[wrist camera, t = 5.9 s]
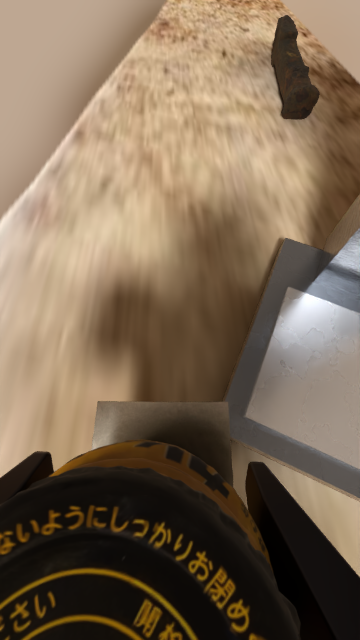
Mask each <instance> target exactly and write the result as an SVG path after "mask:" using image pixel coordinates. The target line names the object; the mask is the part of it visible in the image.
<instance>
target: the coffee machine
mask: <svg viewBox="0 0 360 640" xmlns="http://www.w3.org/2000/svg"><path fill="white" fill-rule="evenodd" d="M222 402H228V409H229V426H230V440H232V441H234V442H236V443H238V444H241V445H243V446H245V447H247V448H249V449H251V450H253V451H255V452H257V453H259V454H261V455H264V456H266V457H268V458H270V459H272V460H274V461H276V462H278V463H280V464H282V465H284V466H286V467H289V468H291V469H293V470H295V471H297V472H299V473H301V474H303V475H305V476H307V477H309V478H312V479H314V480H316V481H318V482H320V483H322V484H324V485H326V486H328V487H330V488H332V489H335V490H337V491H339V492H341V493H343V494H345V495H347V496H349V497H351V498H353V499H355V500H358V501H360V194H359V196H358V197H357V198H356V200H355V201H354V202H353V204H352V205H351V206H350V208H349V209H348V211H347V212H346V213H345V215H344V216H343V217H342V219H341V220H340V221H339V223H338V224H337V225H336V227H335V228H334V230H333V231H332V232H331V234H330V235H329V236H328V238H327V240H326V243H325V247H324V250H320V249H317V248H314V247H311V246H308V245H305V244H303V243H300V242H297V241H294V240H291V239H288V238H285V240H284V242H283V243H282V245H281V247H280V249H279V251H278V253H277V256H276V259H275V261H274V264H273V267H272V269H271V272H270V275H269V277H268V280H267V283H266V285H265V288H264V291H263V293H262V296H261V299H260V301H259V304H258V307H257V309H256V312H255V315H254V317H253V320H252V323H251V325H250V328H249V331H248V333H247V336H246V339H245V341H244V344H243V347H242V349H241V352H240V355H239V357H238V360H237V363H236V365H235V368H234V371H233V373H232V376H231V379H230V381H229V384H228V387H227V389H226V392H225V395H224V397H223V400H222Z"/></svg>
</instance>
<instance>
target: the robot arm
mask: <svg viewBox="0 0 360 640" xmlns="http://www.w3.org/2000/svg"><path fill="white" fill-rule="evenodd" d="M52 473H54V471H53V464H52V458H51V454H50V453H49V452H43V451H37V452H34V453H33V454H31V455H30V456H29V457H27V458H26V459H25V460H23V461H22V462H21V463H19V464H18V465H17V466H15V467H14V468H13V469H11V470H10V471H9V472H7V473H6V474H5V475H4V476H2V477H1V478H0V504H2V503H4V502H6V501H7V500H9V499H11V498H12V497H14V496H15V495H16V494H17V493H19V492H21V491H23V490H27V489H28V488H29V487H30V486H31V484H32V483H34V482H37V481H39V480H42V479H44V478H47V477H48V476H49V475H50V474H52ZM245 487H246V496H247V503H248V511H249V513H250V515H251V516H252V518H253V520H254V522H255V524H256V526H257V528H258V530H259V532H260V534H261V536H262V539H263V542H264V544H265V546H266V548H267V551H268V553H269V558H270V563H271V566H272V568H273V573H274V577H275V579H276V583H277V587H278V591H279V592H280V593H281V594H283V595H284V596H285V597H286V598H287V599H288V600H289V601H290V602H291V603H292V604H293V605H294V606H295V608H296V611H297V614H298V617H299V620H300V623H301V625H300V631H299V633H300V638H301V640H360V577H359V576H358V575H357V574H356V572H355V571H354V570H353V569H352V568H351V566H350V565H349V564H348V563H347V562H346V560H345V559H344V558H343V557H342V556H341V554H340V553H339V552H338V551H337V550H336V548H335V547H334V546H333V545H332V544H331V542H330V541H329V540H328V539H327V538H326V537H325V535H324V534H323V533H322V532H321V531H320V529H319V528H318V527H317V526H316V525H315V523H314V522H313V521H312V520H311V519H310V517H309V516H308V515H307V514H306V513H305V511H304V510H303V509H302V508H301V507H300V505H299V504H298V503H297V502H296V501H295V500H294V498H293V497H292V496H291V495H290V494H289V492H288V491H287V490H286V489H285V488H284V486H283V485H282V484H281V483H280V482H279V480H278V479H277V478H276V477H275V476H274V474H273V473H272V472H271V471H270V470H269V468H268V467H267V466H266V465H265V464H264V463H263V462H250V463H249V464H248V470H247V476H246V483H245Z"/></svg>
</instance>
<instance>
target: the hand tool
mask: <svg viewBox="0 0 360 640" xmlns="http://www.w3.org/2000/svg"><path fill="white" fill-rule="evenodd" d="M297 35H298V31H297V29H296V25H295V24H294V21H293V20H292V19H291V18H290V17H289V16H288V15H285V16H284V17H281V18H279V20H278V23H277V28H276V32H275V38H274V42H273V51H272V62H271V65H272V67H274V68H276V73H277V79H278V81H279V86H280V93H281V95H282V97H283V101H284V106H283V110H282V115H283V118H284V119H304V118H306V117H307V116H309V114H310V113H311V111H312V109H313V107H314V106H315V104H316V103H317V101H318V98H319V95H320V94H319V91H318V89H317V88H316V87H315V86H314V85H312V84H311V82H310V78H309V76H308V73H309V67H307V66H305V65H304V62H303V60H302V57H301V54H300V52H299V49H298V47H297V41H296V39H297Z"/></svg>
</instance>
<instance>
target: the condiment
mask: <svg viewBox="0 0 360 640" xmlns="http://www.w3.org/2000/svg"><path fill="white" fill-rule="evenodd" d="M300 625H301V623H300V620H299V617H298V614H297V611H296V608H295V606H294V605H293V604H292V603H291V602H290V601H289V600H288V599H287V598H286V597H285V596H284V595H283V594H281V593H280V592H279V591H278V587H277V583H276V579H275V577H274V573H273V568H272V566H271V563H270V558H269V553H268V551H267V548H266V546H265V544H264V542H263V539H262V536H261V534H260V532H259V530H258V528H257V526H256V524H255V522H254V520H253V518H252V516H251V515H250V513H249V511H248V510H247V508H246V506H245V505H244V503H243V501H242V500H241V498H240V497H239V496H238V495H237V493H236V491H235V489H234V488H233V470H232V459H231V444H230V426H229V409H228V402H118V401H98V403H97V411H96V417H95V427H94V434H93V440H92V450H91V451H89V452H87V453H85V454H81V455H79V456H77V457H75V458H73V459H72V460H70V461H69V462H68V463H66V464H65V465H63V466H62V467H61V468H59V469H58V470H57V471H55V472H54V473H52V474H50V475H49V476H48V477H47V478H44V479H42V480H39V481H37V482H34V483H32V484H31V486H30V487H29V488H28V489H27V490H23V491H21V492H19V493H17V494H16V495H15V496H14V497H12V498H11V499H9V500H7V501H6V502H4V503H2V504H0V640H301V638H300V633H299V631H300Z"/></svg>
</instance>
